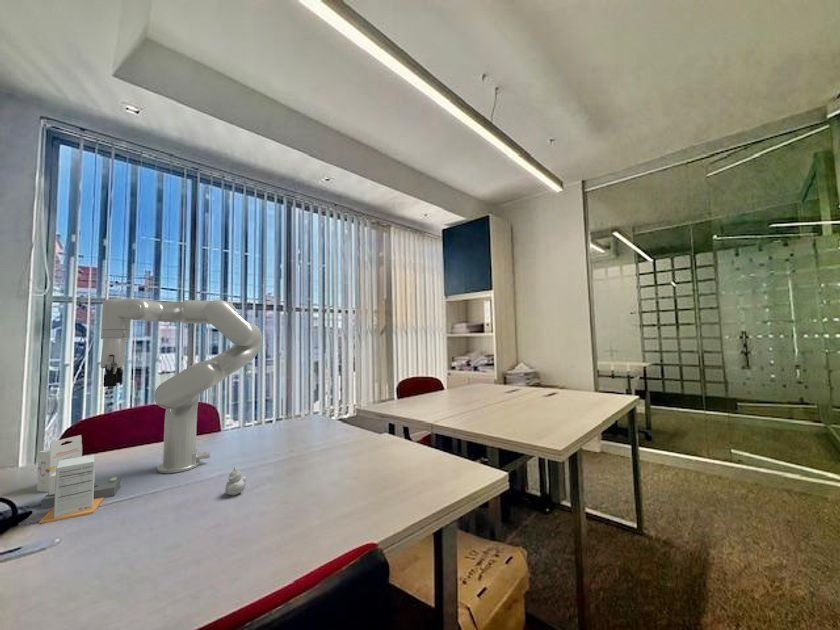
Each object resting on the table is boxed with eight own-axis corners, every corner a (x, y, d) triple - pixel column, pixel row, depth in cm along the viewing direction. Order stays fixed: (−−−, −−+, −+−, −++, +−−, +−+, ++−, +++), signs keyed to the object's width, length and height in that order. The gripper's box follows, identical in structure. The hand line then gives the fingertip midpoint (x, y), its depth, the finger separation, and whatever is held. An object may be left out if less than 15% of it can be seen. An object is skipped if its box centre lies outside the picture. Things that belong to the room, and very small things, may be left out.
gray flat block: (120, 486, 106) (120, 475, 106) (113, 496, 100) (114, 484, 100) (52, 498, 99) (52, 486, 99) (40, 509, 92) (41, 496, 93)
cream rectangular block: (69, 487, 99) (70, 469, 100) (64, 492, 96) (65, 474, 96) (55, 489, 98) (56, 471, 98) (49, 495, 94) (50, 476, 95)
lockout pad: (103, 499, 98) (103, 497, 98) (93, 513, 90) (93, 511, 90) (54, 508, 93) (54, 506, 93) (39, 523, 85) (39, 521, 85)
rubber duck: (219, 496, 99) (220, 468, 100) (238, 487, 106) (239, 460, 106) (233, 499, 98) (234, 470, 98) (252, 489, 104) (252, 462, 104)
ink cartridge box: (69, 479, 112) (72, 433, 112) (81, 480, 111) (83, 434, 111) (35, 491, 103) (38, 441, 104) (48, 492, 102) (50, 442, 103)
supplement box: (55, 508, 92) (57, 460, 93) (93, 499, 97) (95, 453, 98) (52, 519, 86) (55, 467, 87) (93, 509, 91) (95, 460, 92)
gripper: (107, 334, 125) (104, 382, 124) (94, 334, 110) (91, 389, 109) (133, 334, 129) (131, 381, 128) (125, 334, 114) (122, 387, 113)
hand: (113, 384), depth 118 cm, fingers open, 9 cm apart
